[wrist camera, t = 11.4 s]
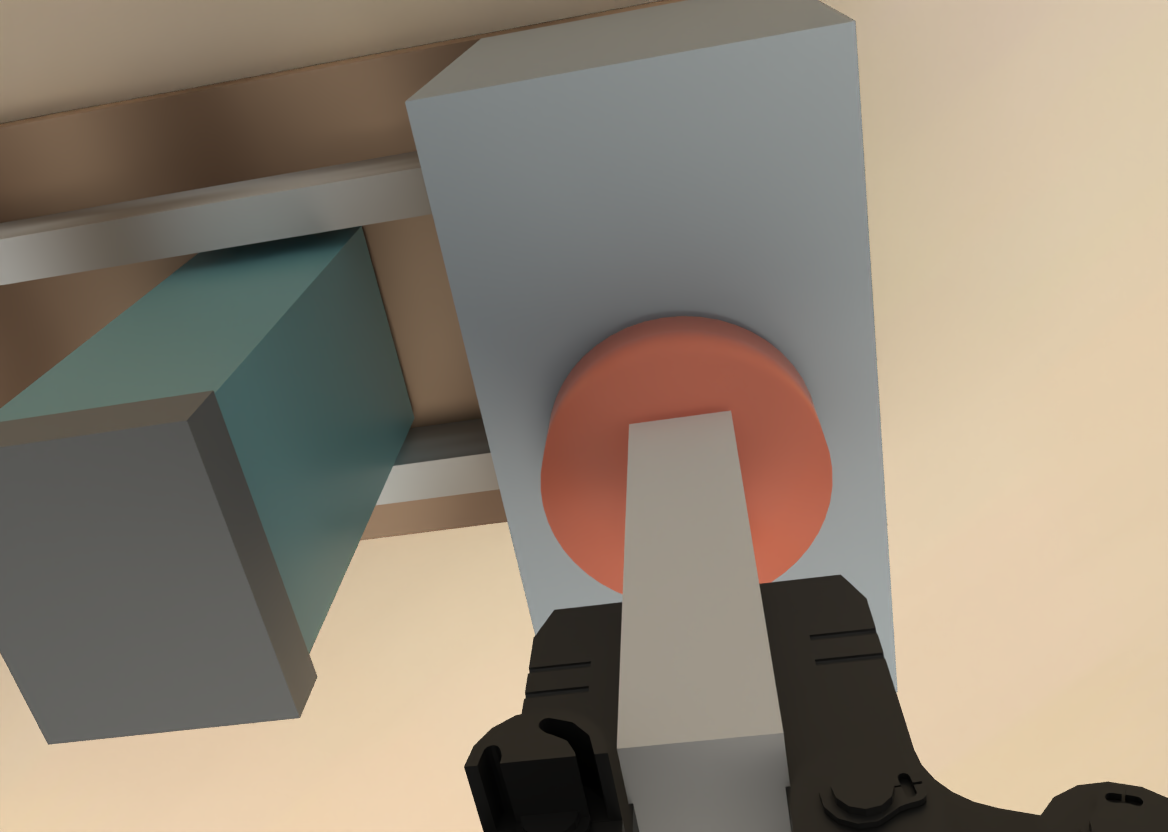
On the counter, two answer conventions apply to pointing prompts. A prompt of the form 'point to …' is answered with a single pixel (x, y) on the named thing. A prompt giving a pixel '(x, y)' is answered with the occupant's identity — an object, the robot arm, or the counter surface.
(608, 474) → the button
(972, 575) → the counter surface
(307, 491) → the carriage
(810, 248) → the cabinet
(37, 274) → the rail track
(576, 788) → the robot arm
